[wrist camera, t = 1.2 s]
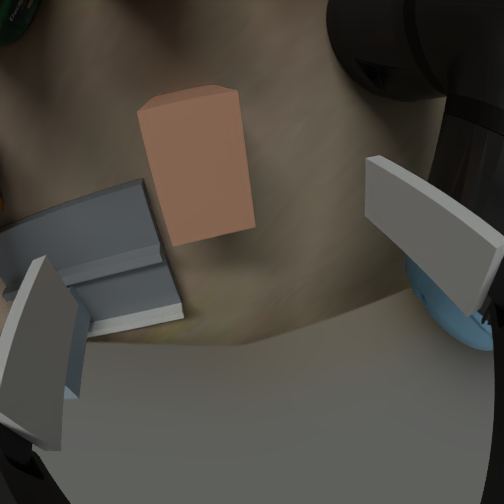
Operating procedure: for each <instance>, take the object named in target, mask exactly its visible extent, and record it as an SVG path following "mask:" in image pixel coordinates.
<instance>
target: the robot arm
mask: <svg viewBox="0 0 504 504" xmlns="http://www.w3.org/2000/svg"><path fill="white" fill-rule="evenodd" d="M327 28H328V33H329V38H330V41H331V44H332V47H333V49H334V51H335V54H336V56H337V57H338V59H339V61H340V63H341V64H342V66H343V67H344V69H345V70H346V71H347V72H348V74H349V75H350V76H351V77H352V78H353V79H354V80H355V81H356V82H357V83H358V84H359V85H361V86H362V87H363V88H365V89H366V90H368V91H369V92H371V93H373V94H376V95H378V96H381V97H385V98H388V99H392V100H396V101H403V102H414V101H420V100H426V99H433V98H440V97H447V98H446V104H445V110H444V113H443V118H442V124H441V129H440V133H439V138H438V142H437V147H436V151H435V155H434V159H433V163H432V167H431V171H430V174H429V178H428V181H427V182H426V181H424V180H423V179H421V178H420V177H418V176H416V175H414V174H413V173H411V172H409V171H408V170H406V169H404V168H402V167H401V166H399V165H397V164H395V163H393V162H392V161H390V160H388V159H386V158H384V157H382V156H381V155H378V156H373V157H368V158H365V214H364V216H365V217H366V218H368V219H369V220H370V221H371V222H372V223H373V224H374V225H375V226H377V227H378V228H379V229H380V230H381V231H382V232H383V233H384V234H385V235H387V236H388V237H389V238H390V239H391V240H392V241H393V242H394V243H395V244H396V245H397V246H398V247H399V248H400V249H402V250H403V251H404V252H405V267H406V273H407V276H408V279H409V282H410V285H411V287H412V289H413V291H414V293H415V295H416V296H417V298H418V299H419V300H420V301H421V303H422V304H423V305H424V306H425V308H426V311H427V312H428V313H429V315H430V316H431V317H432V318H433V319H434V320H435V321H436V322H437V323H438V324H439V325H440V326H441V327H442V328H443V329H444V330H445V331H446V332H448V333H449V334H450V335H451V336H453V337H454V338H456V339H457V340H459V341H460V342H462V343H464V344H466V345H468V346H470V347H472V348H476V349H479V350H494V371H495V402H494V422H493V434H492V444H491V452H490V460H489V465H488V471H487V477H486V482H485V487H484V491H483V495H482V499H481V503H480V504H504V0H329V1H328V6H327ZM78 305H79V304H78V303H77V301H76V300H75V299H74V297H73V296H72V294H71V293H70V291H69V290H68V288H67V287H66V285H65V284H64V282H63V281H62V279H61V278H60V276H59V275H58V273H57V272H56V270H55V268H54V267H53V265H52V264H51V262H50V260H49V259H48V257H47V255H45V256H42V257H40V258H37V259H35V260H33V261H32V263H31V265H30V267H29V269H28V271H27V273H26V275H25V278H24V280H23V282H22V284H21V286H20V289H19V291H18V293H17V295H16V298H15V300H14V303H13V305H12V307H11V310H10V312H9V315H8V318H7V320H6V323H5V326H4V328H3V331H2V334H1V337H0V504H70V502H69V501H68V499H67V498H66V497H65V495H64V494H63V492H62V491H61V490H60V488H59V487H58V486H57V484H56V482H55V481H54V479H53V478H52V476H51V475H50V473H49V472H48V470H47V468H46V467H45V465H44V464H43V462H42V460H41V459H40V457H39V456H38V454H37V453H36V452H34V451H32V444H34V445H36V446H38V447H39V448H41V449H43V450H45V451H61V434H62V413H63V401H64V390H65V381H66V373H67V366H68V359H69V352H70V346H71V340H72V335H73V329H74V324H75V319H76V314H77V310H78Z"/></svg>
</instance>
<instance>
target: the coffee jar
mask: <svg viewBox="0 0 504 504" xmlns="http://www.w3.org/2000/svg"><path fill="white" fill-rule="evenodd" d="M39 2H40V0H0V46H4V45H7V44H9V43H11V42H13V41H15V40H16V39H17V38H18V37H20V36H21V35H22V33H23V32H24V31H25V30H26V29H27V27H28V25H29V23H30V21H31V19H32V17H33V15H34V13H35V11H36V9H37V6H38V4H39Z"/></svg>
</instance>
